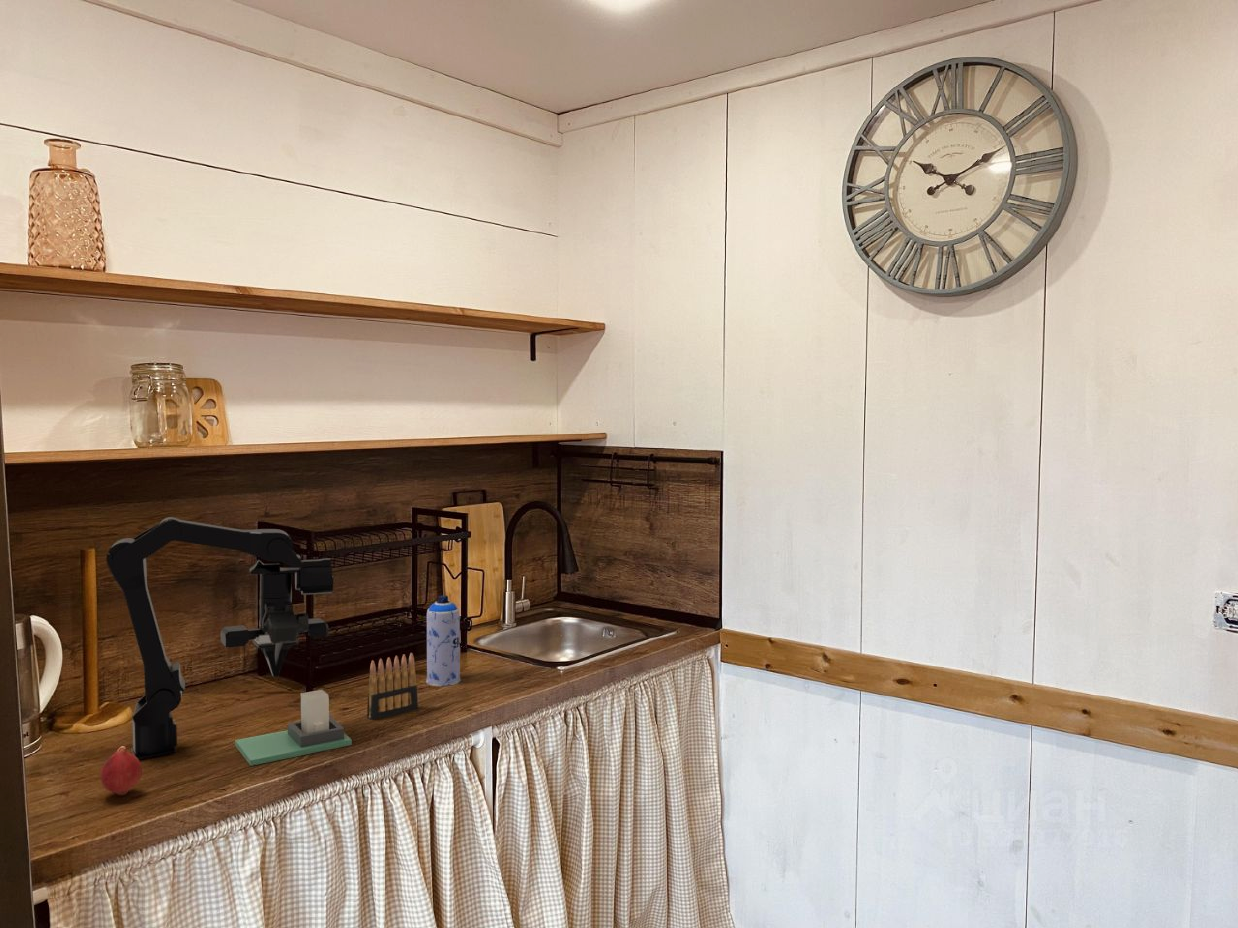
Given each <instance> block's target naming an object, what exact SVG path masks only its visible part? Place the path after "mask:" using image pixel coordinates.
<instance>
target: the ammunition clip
mask: <svg viewBox="0 0 1238 928" xmlns="http://www.w3.org/2000/svg"><path fill="white" fill-rule="evenodd" d="M400 662H401V663H400ZM400 665H401V666H400ZM369 667H370V668H369V681H368V694H367V710H366V711H367V712H366V718H367V719H369V720H371V721H373V720H379V719H382V718H386V717H390V716H394V715H395V716H396V715H399V714H402V713H407V712H411V711H415V710H418V709H419V707H418V706H419V705H418V704H419V703H418V702H419V701H418V685H416V684H417V681H416V679H417V678H416V670H415V667H416V666H415V657H414V654H413V652H410V653H409V657H408V662H407V657H406V654H402V657H401V661H400V660H399V656H398V655H395V657H394V661H393V666H392V660H391V657H390V656H389V657H387V659H386V664H385V667H384V662H383V659H382V658H379V660H378V667H377V669H376V664H375V661H374V660H371V663H370V666H369Z"/></svg>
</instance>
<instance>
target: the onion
mask: <svg viewBox="0 0 1238 928" xmlns="http://www.w3.org/2000/svg"><path fill="white" fill-rule="evenodd" d="M142 774H143V767H142V764H141V762H140V759H139V760H138V758H137V757H136V756H135V755H133V753H131V752H128V750H127V748H126V746H125V745H124V746H123V745H122V746H120V747H119V748H118V749H117V751H115V752H114V753H113V754H112V755H110V757H109V758H108V759H107V760H105V762H104V763H103V765H102V767H101V770H100V781H101V784H102V786H103V787H104V789H106V790H107V791H109V792H111V793H115V794H116V795H118V796H125V795H127V793H128V792H129V791H130V790H132V788H134V787H135V786H136V785H137V784H138V782H139V781H140V779H141V778H142Z"/></svg>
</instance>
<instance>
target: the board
mask: <svg viewBox="0 0 1238 928" xmlns="http://www.w3.org/2000/svg"><path fill="white" fill-rule="evenodd" d="M352 745H353V740H352V738H350V737H349V736H348V735H347V734H346V733H345V728H344V726H343V725H341V724H340V722H338V721H336V719H334V718H333V717H332V716H331V715H329V730H324V731H319V732H314V733H309V734H304V733H303V732H302V731H301V720H299V721H293V722H288V723H287V729H286V730H282V731H277V732H271V733H266V734H265V733H264V734H260V735H256V736H250V737H245V738H244V737H243V738H238V739H235V740H234V746H235V747H236V748H237V751H239V753H240V754H241V755H242V757H243V758H244V759H245V760H246V762H247V764H249V766H251V767H253V766H257V765H262V764H266V763H271V762H276V761H281V760H285V759H286V760H287V759H291V758H295V757H301V756H304V755H309V754H314V753H319V752H324V751H330V750H334V749H338V748H344V747H348V746H352Z"/></svg>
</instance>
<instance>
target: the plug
mask: <svg viewBox="0 0 1238 928" xmlns="http://www.w3.org/2000/svg"><path fill="white" fill-rule="evenodd" d="M329 703H330V700H329V694H328V693H326V691H324V690H323V689H318V690H313V691H308V692H300V721H301V731H302V732H303V733H304V734H309V733H314V732H319V731H324V730H329V716H330V712H329V710H330V705H329Z"/></svg>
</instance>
